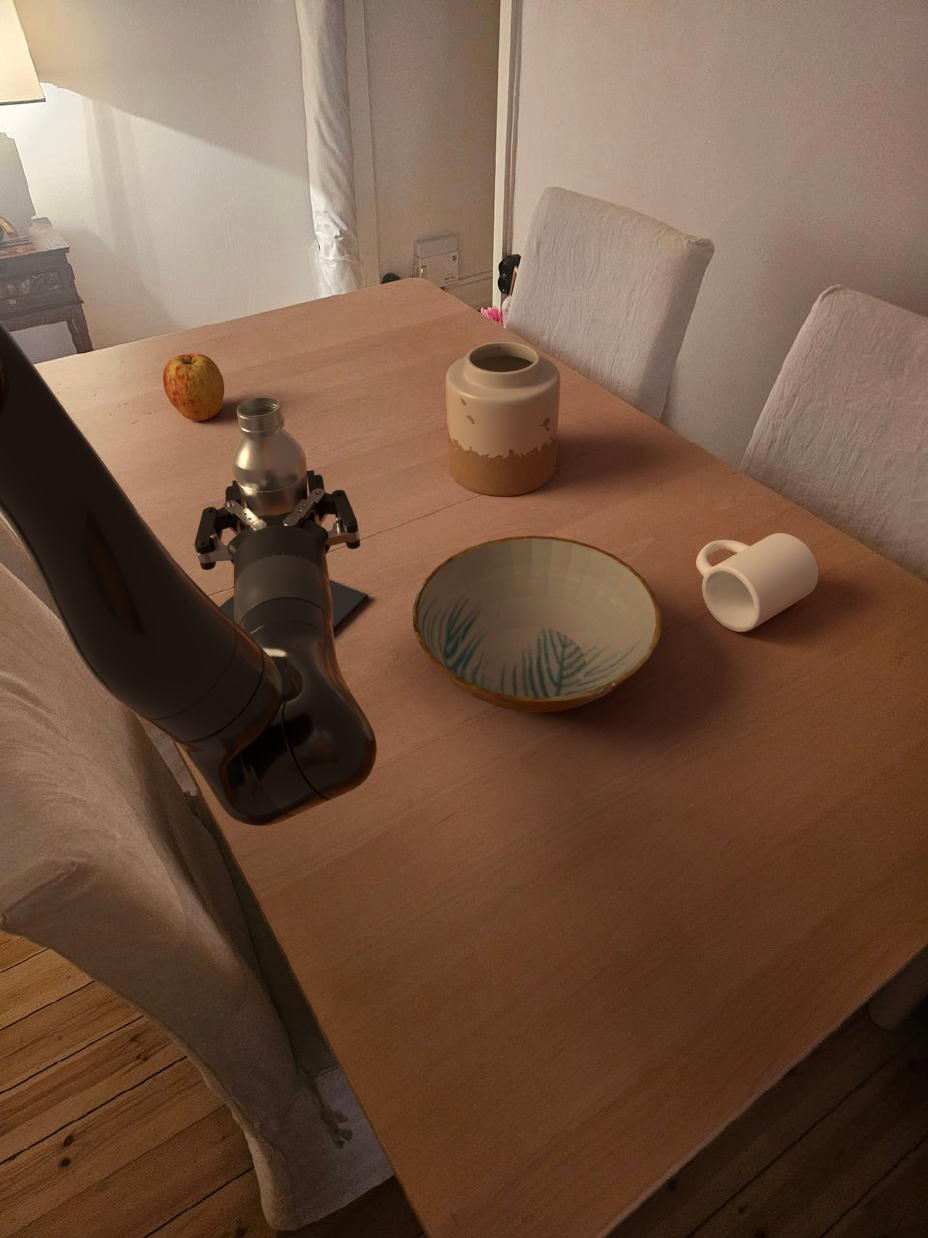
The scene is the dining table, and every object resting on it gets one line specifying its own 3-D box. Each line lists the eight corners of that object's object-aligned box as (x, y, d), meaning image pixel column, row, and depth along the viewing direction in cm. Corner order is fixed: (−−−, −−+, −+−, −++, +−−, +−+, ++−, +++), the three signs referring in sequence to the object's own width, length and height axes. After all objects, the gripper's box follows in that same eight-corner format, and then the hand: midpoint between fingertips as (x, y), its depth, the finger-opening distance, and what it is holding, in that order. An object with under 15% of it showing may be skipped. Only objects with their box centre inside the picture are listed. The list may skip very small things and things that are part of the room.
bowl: (702, 687, 86) (715, 632, 80) (502, 798, 76) (502, 743, 71) (556, 563, 101) (559, 509, 96) (376, 641, 92) (369, 587, 87)
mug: (808, 609, 94) (827, 554, 89) (750, 646, 90) (766, 590, 84) (727, 558, 101) (740, 504, 96) (670, 589, 97) (680, 535, 92)
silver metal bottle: (340, 593, 82) (311, 409, 69) (278, 619, 79) (235, 433, 66) (312, 561, 86) (279, 382, 73) (252, 584, 83) (206, 403, 70)
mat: (280, 685, 87) (279, 680, 87) (185, 641, 93) (183, 636, 92) (368, 599, 97) (367, 594, 97) (277, 563, 103) (276, 558, 102)
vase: (427, 466, 119) (420, 356, 108) (504, 429, 126) (505, 322, 115) (499, 510, 110) (499, 396, 99) (577, 468, 117) (586, 357, 106)
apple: (196, 397, 136) (180, 339, 130) (242, 406, 134) (229, 347, 127) (162, 423, 130) (144, 364, 124) (210, 433, 128) (194, 372, 121)
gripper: (368, 544, 63) (346, 438, 76) (177, 571, 61) (186, 458, 74) (377, 616, 68) (355, 506, 81) (201, 644, 66) (206, 526, 79)
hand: (275, 483), depth 77 cm, fingers closed on silver metal bottle, 6 cm apart
